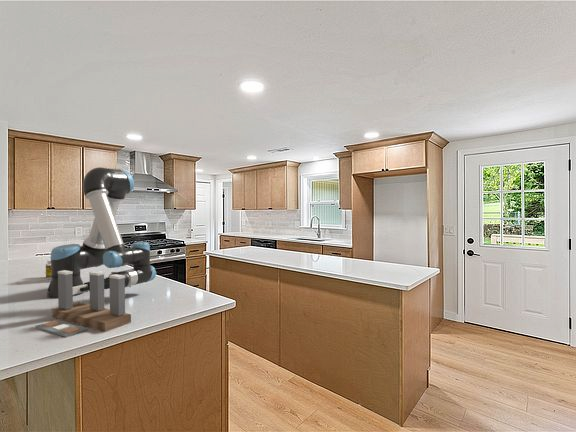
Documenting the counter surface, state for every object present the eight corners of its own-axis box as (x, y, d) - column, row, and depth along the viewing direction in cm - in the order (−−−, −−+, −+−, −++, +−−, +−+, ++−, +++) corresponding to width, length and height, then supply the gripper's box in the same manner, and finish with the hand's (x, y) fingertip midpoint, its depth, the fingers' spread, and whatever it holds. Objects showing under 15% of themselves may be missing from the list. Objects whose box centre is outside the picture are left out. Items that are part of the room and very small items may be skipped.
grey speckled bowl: (99, 280, 188) (99, 272, 188) (121, 276, 197) (121, 269, 197) (105, 283, 180) (105, 275, 180) (128, 280, 188) (128, 272, 188)
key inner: (65, 305, 128) (64, 270, 128) (73, 307, 126) (72, 271, 126) (58, 307, 126) (57, 271, 126) (66, 309, 124) (65, 272, 123)
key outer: (116, 311, 122) (115, 274, 121) (125, 313, 120) (124, 275, 119) (109, 313, 119) (109, 275, 119) (118, 316, 117) (118, 276, 117)
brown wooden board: (52, 316, 125) (51, 309, 125) (78, 309, 134) (78, 302, 134) (105, 331, 111) (105, 323, 111) (131, 322, 120) (130, 314, 120)
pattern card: (35, 327, 114) (35, 325, 114) (57, 321, 121) (57, 319, 121) (65, 337, 106) (65, 334, 106) (86, 330, 112) (86, 327, 112)
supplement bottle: (43, 278, 189) (43, 261, 188) (48, 276, 194) (48, 259, 194) (54, 278, 190) (54, 260, 190) (59, 276, 195) (58, 259, 195)
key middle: (96, 307, 127) (95, 271, 127) (104, 309, 125) (104, 272, 124) (89, 308, 125) (89, 272, 124) (98, 311, 123) (97, 273, 122)
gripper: (134, 289, 145) (80, 303, 124) (114, 285, 151) (60, 298, 130) (134, 272, 145) (80, 283, 124) (114, 269, 151) (60, 280, 130)
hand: (70, 291), depth 127 cm, fingers closed
